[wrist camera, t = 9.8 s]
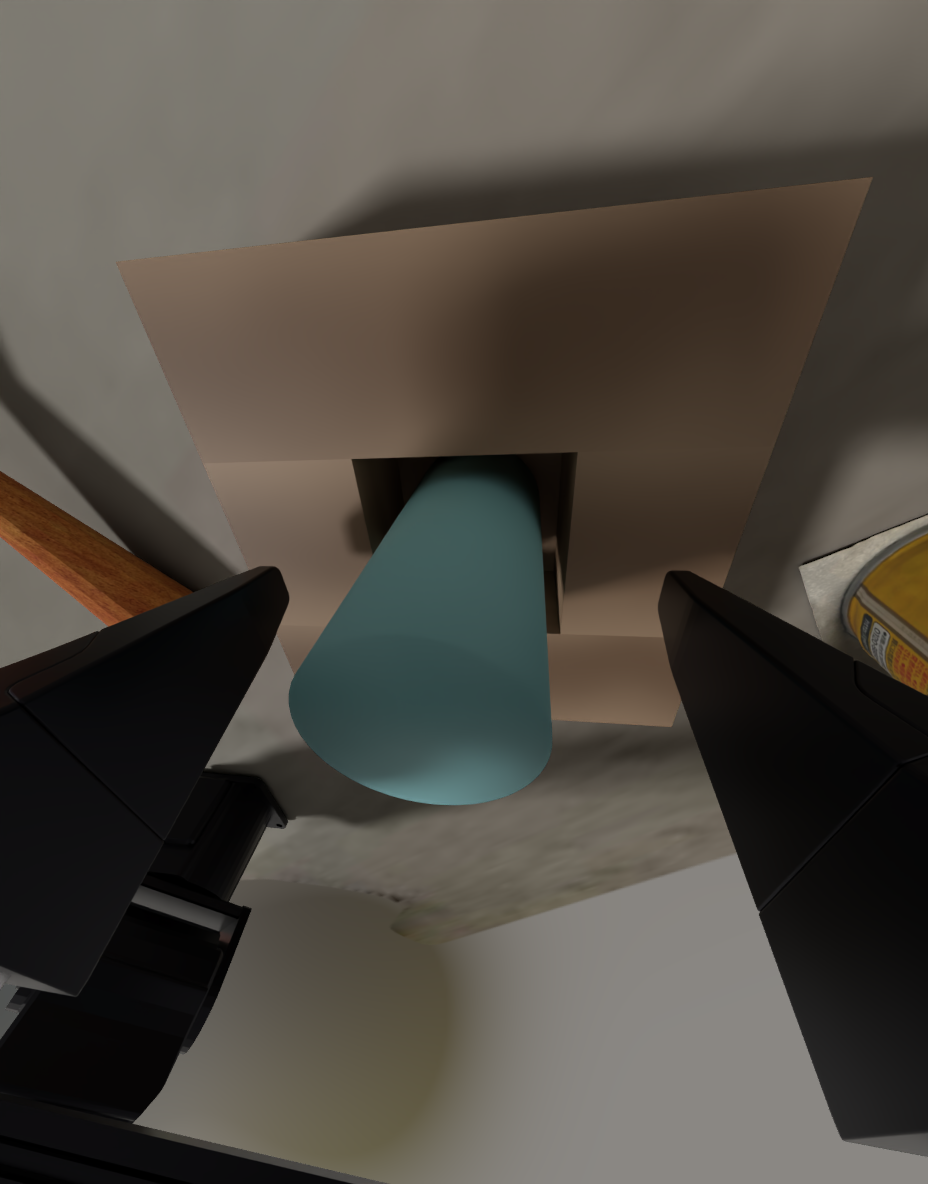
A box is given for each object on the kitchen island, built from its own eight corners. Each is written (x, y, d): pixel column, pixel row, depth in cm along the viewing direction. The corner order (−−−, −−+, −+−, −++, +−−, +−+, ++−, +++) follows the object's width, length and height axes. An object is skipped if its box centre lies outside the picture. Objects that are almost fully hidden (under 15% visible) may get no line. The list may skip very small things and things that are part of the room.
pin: (536, 556, 14) (544, 816, 7) (427, 555, 15) (327, 792, 7) (542, 440, 12) (563, 642, 5) (413, 444, 12) (249, 628, 5)
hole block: (640, 637, 17) (671, 727, 13) (349, 628, 19) (307, 704, 15) (739, 229, 10) (873, 177, 6) (247, 279, 11) (115, 262, 8)
